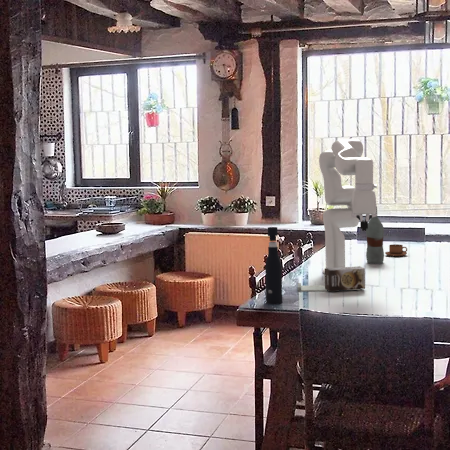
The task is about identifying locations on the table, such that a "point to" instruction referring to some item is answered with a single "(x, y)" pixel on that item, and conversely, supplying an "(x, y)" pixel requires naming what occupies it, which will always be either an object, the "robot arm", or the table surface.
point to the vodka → (375, 241)
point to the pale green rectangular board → (313, 288)
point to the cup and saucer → (396, 250)
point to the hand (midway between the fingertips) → (364, 230)
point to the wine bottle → (273, 270)
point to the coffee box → (344, 278)
